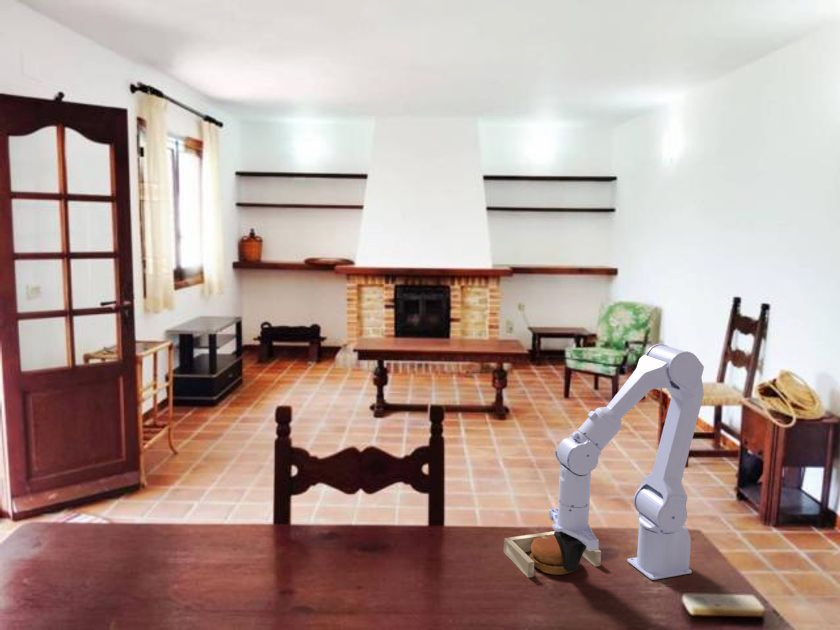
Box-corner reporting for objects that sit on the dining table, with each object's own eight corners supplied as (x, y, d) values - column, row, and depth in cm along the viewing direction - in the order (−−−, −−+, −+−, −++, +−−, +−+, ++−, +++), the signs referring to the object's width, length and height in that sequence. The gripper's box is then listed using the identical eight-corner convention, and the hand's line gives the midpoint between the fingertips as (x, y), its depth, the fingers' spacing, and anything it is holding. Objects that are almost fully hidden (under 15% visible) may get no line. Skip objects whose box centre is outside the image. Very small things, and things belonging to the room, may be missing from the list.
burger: (560, 581, 127) (561, 557, 127) (519, 564, 134) (520, 541, 133) (587, 563, 134) (588, 541, 134) (547, 548, 141) (548, 527, 140)
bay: (571, 542, 143) (572, 528, 143) (600, 565, 133) (601, 551, 133) (503, 552, 138) (504, 538, 138) (527, 577, 128) (528, 562, 128)
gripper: (536, 489, 132) (533, 555, 134) (575, 519, 119) (572, 592, 120) (567, 486, 135) (564, 550, 136) (610, 515, 121) (606, 586, 123)
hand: (570, 569), depth 129 cm, fingers closed
